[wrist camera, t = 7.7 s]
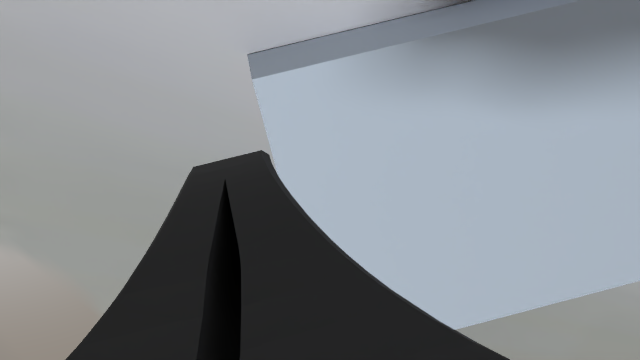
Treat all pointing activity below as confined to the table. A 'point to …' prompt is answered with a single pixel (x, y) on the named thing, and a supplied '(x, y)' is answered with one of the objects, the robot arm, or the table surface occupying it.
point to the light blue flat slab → (469, 150)
